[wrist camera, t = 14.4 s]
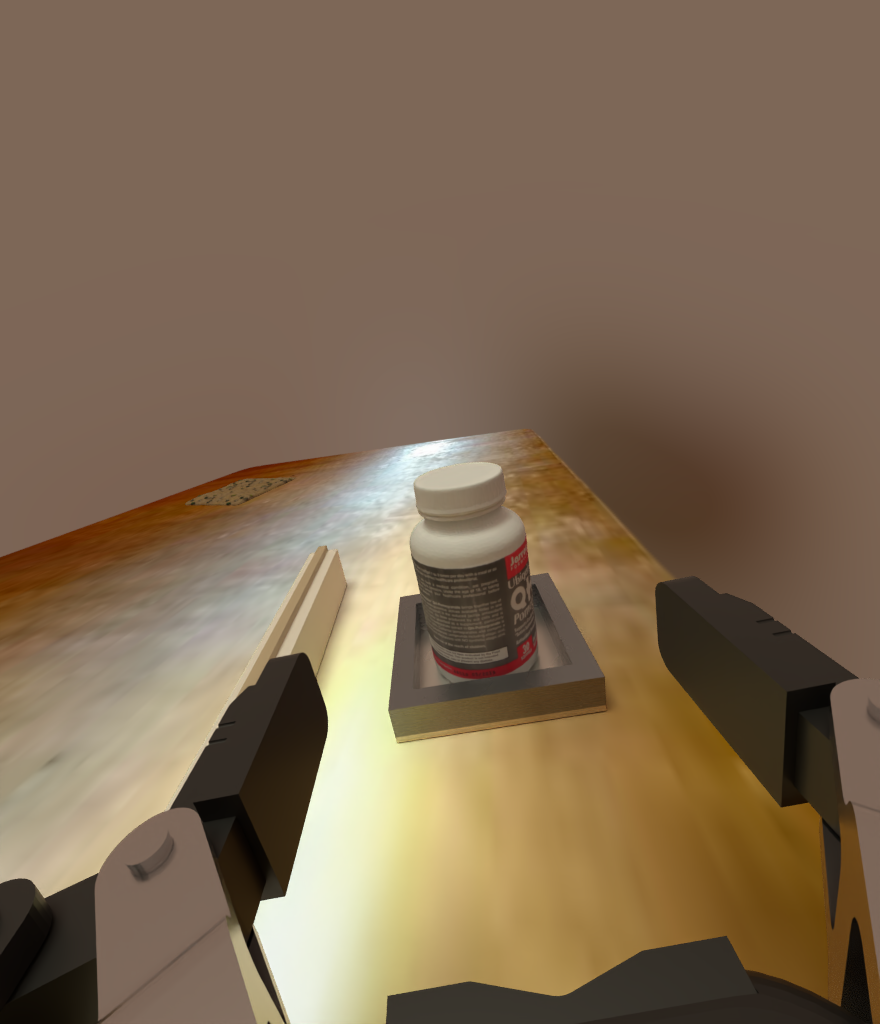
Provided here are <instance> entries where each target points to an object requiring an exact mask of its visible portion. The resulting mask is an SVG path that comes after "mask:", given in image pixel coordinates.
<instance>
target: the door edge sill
mask: <svg viewBox="0 0 880 1024" xmlns="http://www.w3.org/2000/svg"><path fill="white" fill-rule="evenodd" d="M346 586H347V583H346V579H345V576H344V572H343V568H342V565H341V561H340V557H339V554H338V550H337V549H334V550H328V549H327V546H321V547H318V549H317V550H316V552H315V553H310V555H309V557H308V559H307V560H306V562H305V564H304V566H303V567H302V569H301V571H300V573H299V574H298V576H297V578H296V580H295V582H294V583H293V585H292V587H291V589H290V590H289V592H288V594H287V596H286V597H285V599H284V601H283V603H282V604H281V606H280V608H279V610H278V612H277V613H276V615H275V617H274V619H273V620H272V622H271V624H270V626H269V627H268V629H267V631H266V633H265V634H264V636H263V638H262V640H261V642H260V643H259V645H258V647H257V649H256V650H255V652H254V654H253V656H252V657H251V659H250V661H249V663H248V665H247V666H246V668H245V670H244V672H243V673H242V675H241V677H240V679H239V680H238V682H237V684H236V686H235V687H234V689H233V691H232V693H231V695H230V696H229V698H228V700H227V702H226V703H225V705H224V707H223V709H222V710H221V712H220V714H219V716H218V717H217V719H216V721H215V723H214V725H213V726H212V728H211V730H210V732H209V733H208V735H207V737H206V739H205V740H204V742H203V744H202V746H201V747H200V749H199V751H198V753H197V755H196V756H195V758H194V760H193V762H192V763H191V765H190V767H189V769H188V770H187V772H186V774H185V776H184V777H183V779H182V781H181V783H180V785H179V786H178V788H177V790H176V792H175V793H174V795H173V797H172V799H171V800H170V802H169V804H168V806H167V807H166V809H165V811H167V810H169V809H170V808H171V806H172V804H173V802H174V801H175V799H176V797H177V795H178V794H179V792H180V790H181V788H182V787H183V785H184V783H185V781H186V780H187V778H188V776H189V774H190V773H191V771H192V769H193V768H194V766H195V764H196V762H197V761H198V759H199V757H200V755H201V754H202V752H203V750H204V748H205V747H206V746H208V745H209V742H208V741H209V740H210V738H211V736H212V734H213V733H214V731H215V729H216V728H218V724H219V722H220V721H221V719H222V717H223V715H224V714H225V712H226V710H227V708H228V707H229V705H230V704H231V703H232V702H233V701H234V700H235V699H236V698H237V697H238V696H239V695H240V694H241V693H242V692H243V691H244V690H245V689H246V688H247V687H248V686H251V685H255V684H256V682H257V681H258V679H259V677H260V675H261V673H262V671H263V669H264V667H265V665H266V664H267V662H268V661H269V660H270V659H271V658H276V657H281V656H287V655H292V654H297V653H302V652H304V653H305V654H306V655H307V656H308V658H309V660H310V662H311V665H312V668H313V671H314V674H315V677H316V675H317V672H318V669H319V666H320V663H321V661H322V658H323V655H324V652H325V649H326V646H327V643H328V640H329V637H330V634H331V631H332V628H333V625H334V622H335V619H336V616H337V613H338V610H339V607H340V604H341V601H342V598H343V595H344V592H345V589H346ZM165 811H164V812H165Z"/></svg>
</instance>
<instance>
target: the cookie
mask: <svg viewBox="0 0 880 1024" xmlns="http://www.w3.org/2000/svg"><path fill="white" fill-rule="evenodd" d="M294 479H296V478H266V479H263V478H261V479H244V480H239V481H238V482H235V483H231V484H229V485H228V486H226V487H223V488H221V489H218V490H216V491H213V492H211V493H206V494H204V495H199V496H198V497H197V498H194V499H193V500H190V501H188V502H187V503H185V505H239V504H242V503H244V502H246V501H248V500H250V499H253V498H254V497H257V496H259V495H261V494H263V493H265V492H268V491H270V490H272V489H274V488H276V487H278V486H281V485H283V484H285V483H287V482H289V481H292V480H294Z"/></svg>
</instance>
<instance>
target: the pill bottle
mask: <svg viewBox="0 0 880 1024" xmlns="http://www.w3.org/2000/svg"><path fill="white" fill-rule="evenodd" d="M414 491H415V497H416V507H417V509H418V512H419V514H420V515H421V516H422V517H424V519H422V520H421V521H420V522H419V523H418V524H417V525H416V526H415V528H414V529H413V531H412V533H411V537H410V549H411V556H412V560H413V564H414V568H415V572H416V576H417V581H418V586H419V590H420V594H421V600H422V605H423V610H424V615H425V620H426V625H427V629H428V634H429V637H430V643H431V647H432V651H433V656H434V660H435V663H436V666H437V668H438V670H439V672H440V673H442V674H443V675H444V676H445V677H446V678H447V679H448V680H449V681H451V682H453V683H457V682H463V681H470V680H476V679H483V678H489V677H495V676H502V675H508V674H514V673H521V672H527V671H529V669H530V668H531V667H532V666H533V664H534V662H535V660H536V658H537V654H538V641H537V629H536V621H535V612H534V604H533V595H532V587H531V577H530V569H529V561H528V552H527V539H526V533H525V528H524V524H523V522H522V520H521V519H520V517H519V516H518V515H517V514H516V513H515V512H513V511H512V510H510V509H508V508H506V507H503V506H501V505H502V504H503V503H504V501H505V495H506V488H505V482H504V476H503V471H502V468H501V467H500V466H499V465H496V464H493V463H487V462H473V463H462V464H455V465H451V466H446V467H442V468H438V469H435V470H432V471H429V472H427V473H424V474H423V475H421V476H419V477H418V478H417V479H416V480H415V481H414Z"/></svg>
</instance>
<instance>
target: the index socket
mask: <svg viewBox="0 0 880 1024" xmlns="http://www.w3.org/2000/svg"><path fill="white" fill-rule="evenodd" d="M530 577H531V587H532V595H533V604H534V612H535V621H536V629H537V641H538V654H537V658H536V660H535V662H534V664H533V666H532V667H531V668H530V669H529V671H527V672H521V673H514V674H508V675H502V676H495V677H489V678H483V679H476V680H470V681H463V682H457V683H453V682H451V681H449V680H448V679H447V678H446V677H445V676H444V675H443V674H442V673H440V672H439V670H438V668H437V666H436V663H435V660H434V656H433V651H432V647H431V643H430V637H429V634H428V629H427V625H426V620H425V615H424V610H423V605H422V600H421V594H416V595H410V596H404V597H400V604H399V613H398V623H397V632H396V642H395V652H394V661H393V671H392V680H391V690H390V699H389V709H388V711H389V715H390V719H391V722H392V726H393V730H394V733H395V737H396V741H397V743H400V742H406V741H413V740H419V739H426V738H432V737H439V736H445V735H452V734H458V733H465V732H471V731H478V730H484V729H491V728H497V727H504V726H510V725H517V724H523V723H530V722H536V721H543V720H549V719H556V718H562V717H569V716H575V715H582V714H588V713H595V712H601V711H606V694H605V677H604V675H603V673H602V671H601V669H600V667H599V666H598V664H597V662H596V660H595V658H594V656H593V655H592V653H591V651H590V649H589V647H588V645H587V644H586V642H585V640H584V638H583V636H582V634H581V633H580V631H579V629H578V627H577V625H576V623H575V622H574V620H573V618H572V616H571V614H570V612H569V611H568V609H567V607H566V605H565V603H564V601H563V600H562V598H561V596H560V594H559V592H558V590H557V589H556V587H555V585H554V583H553V581H552V579H551V578H550V576H549V574H548V573H545V574H539V575H533V576H530Z"/></svg>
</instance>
